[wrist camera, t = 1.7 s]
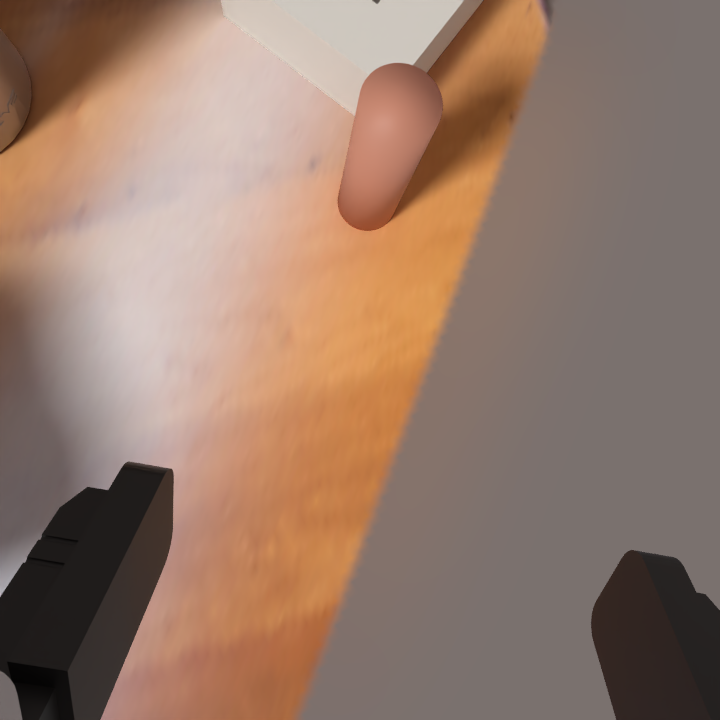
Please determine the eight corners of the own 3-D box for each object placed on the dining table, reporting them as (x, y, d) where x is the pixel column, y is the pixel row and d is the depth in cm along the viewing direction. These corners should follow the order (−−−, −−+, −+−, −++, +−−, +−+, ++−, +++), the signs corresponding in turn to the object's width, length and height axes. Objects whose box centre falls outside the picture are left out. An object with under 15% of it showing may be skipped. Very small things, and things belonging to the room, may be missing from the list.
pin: (325, 206, 37) (341, 108, 25) (360, 162, 38) (391, 46, 26) (372, 242, 37) (410, 161, 25) (406, 197, 38) (459, 97, 26)
